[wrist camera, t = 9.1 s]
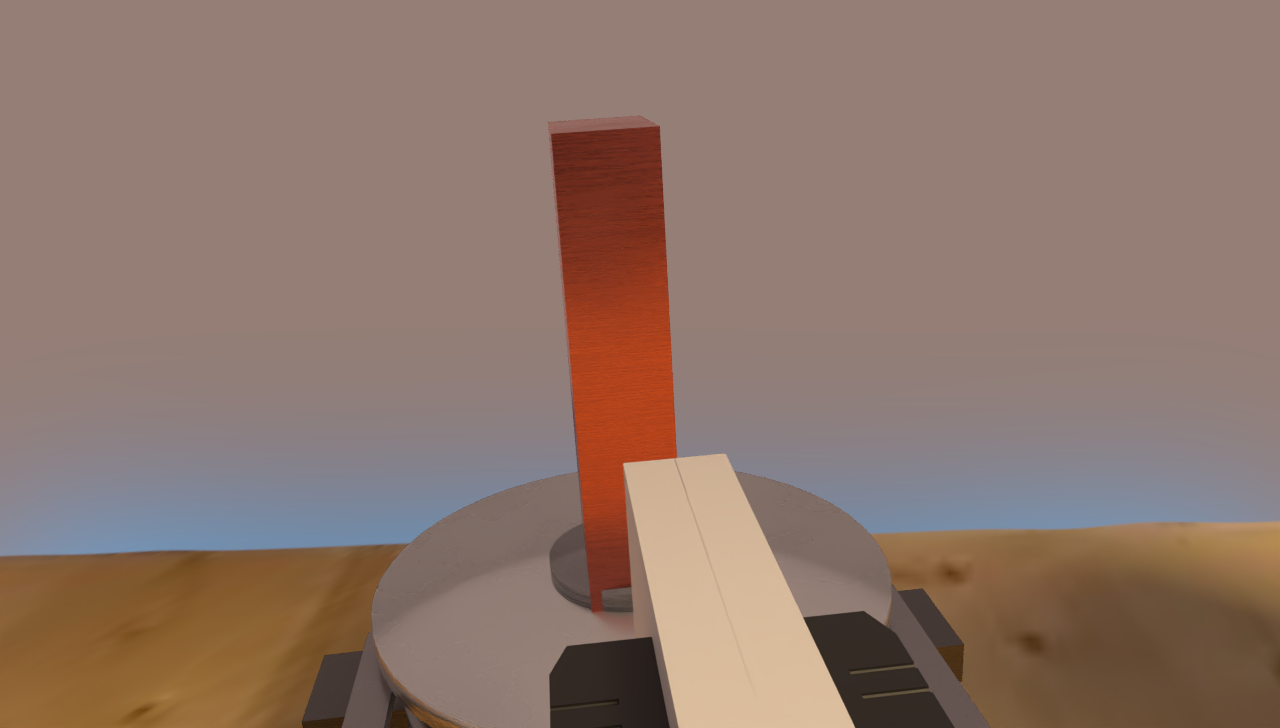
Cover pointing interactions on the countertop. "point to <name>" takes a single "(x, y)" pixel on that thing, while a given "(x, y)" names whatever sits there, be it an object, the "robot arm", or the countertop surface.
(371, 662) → the cooker
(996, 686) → the countertop surface
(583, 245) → the lid
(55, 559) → the countertop surface
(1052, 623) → the countertop surface
